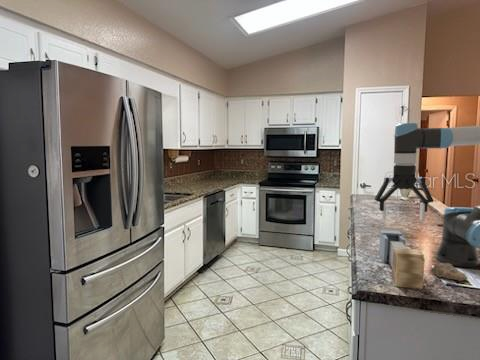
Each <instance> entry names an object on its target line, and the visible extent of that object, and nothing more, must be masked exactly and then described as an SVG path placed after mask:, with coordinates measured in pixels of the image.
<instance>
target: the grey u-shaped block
mask: <svg viewBox="0 0 480 360" xmlns="http://www.w3.org/2000/svg"><path fill="white" fill-rule="evenodd" d="M390 241H395V242H402V243H403V244H404V245H405V246H406V239H405V237H404V236H403V234H402V232H401V231H397V230H381V229H380V231H379V248H378V249H379V250H378V255H379V257H380V258H381V260H382V262H383V263H388V256H389V249H390Z"/></svg>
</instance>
